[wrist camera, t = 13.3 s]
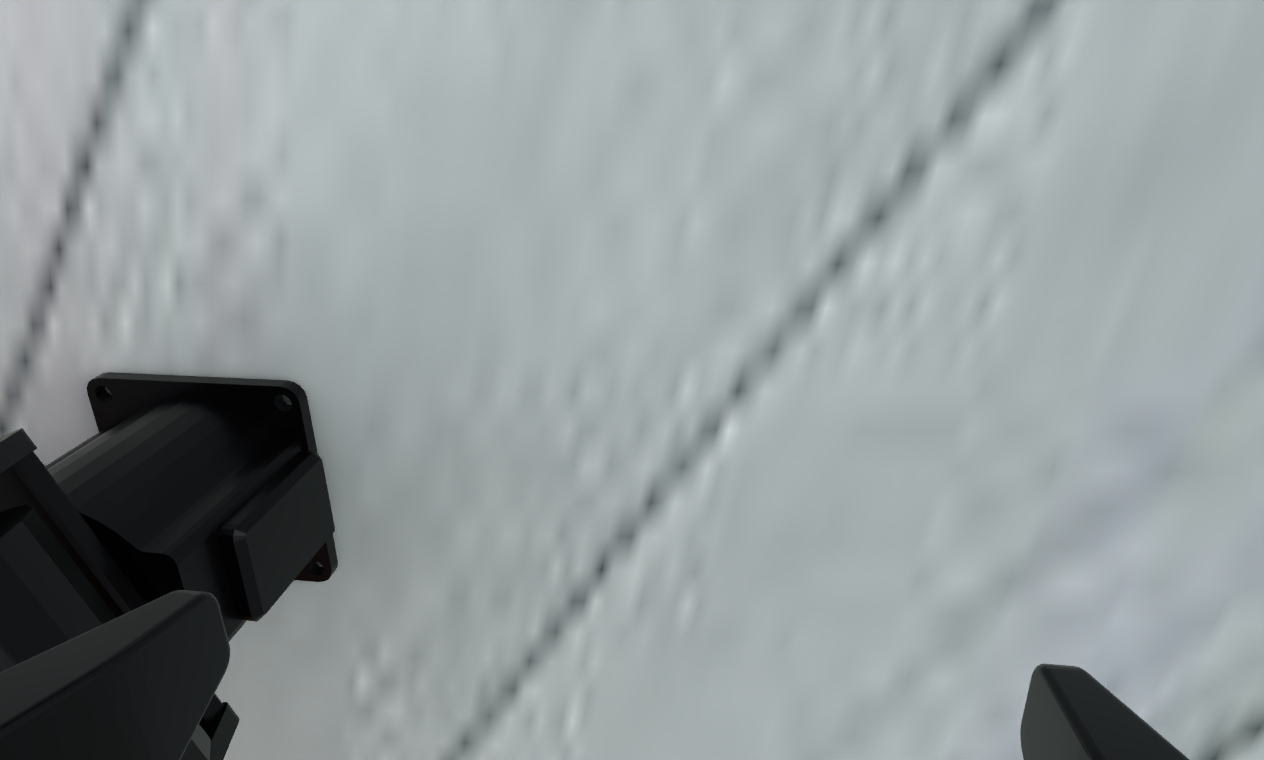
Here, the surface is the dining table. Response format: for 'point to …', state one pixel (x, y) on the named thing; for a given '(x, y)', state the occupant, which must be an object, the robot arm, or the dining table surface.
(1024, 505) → the dining table surface
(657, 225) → the dining table surface
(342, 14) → the dining table surface
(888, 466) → the dining table surface
